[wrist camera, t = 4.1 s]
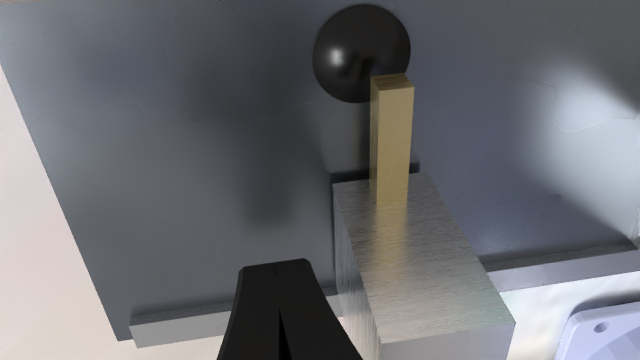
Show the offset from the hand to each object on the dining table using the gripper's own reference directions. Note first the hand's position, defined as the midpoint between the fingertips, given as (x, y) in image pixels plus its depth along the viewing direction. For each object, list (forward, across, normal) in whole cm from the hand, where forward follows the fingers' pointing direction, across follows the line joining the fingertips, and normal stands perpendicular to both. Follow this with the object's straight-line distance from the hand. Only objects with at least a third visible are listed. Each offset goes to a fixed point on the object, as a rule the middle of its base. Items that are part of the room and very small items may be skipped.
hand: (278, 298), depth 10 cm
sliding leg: (+2, -2, -1) cm, 3 cm away
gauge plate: (+3, -4, -2) cm, 5 cm away
